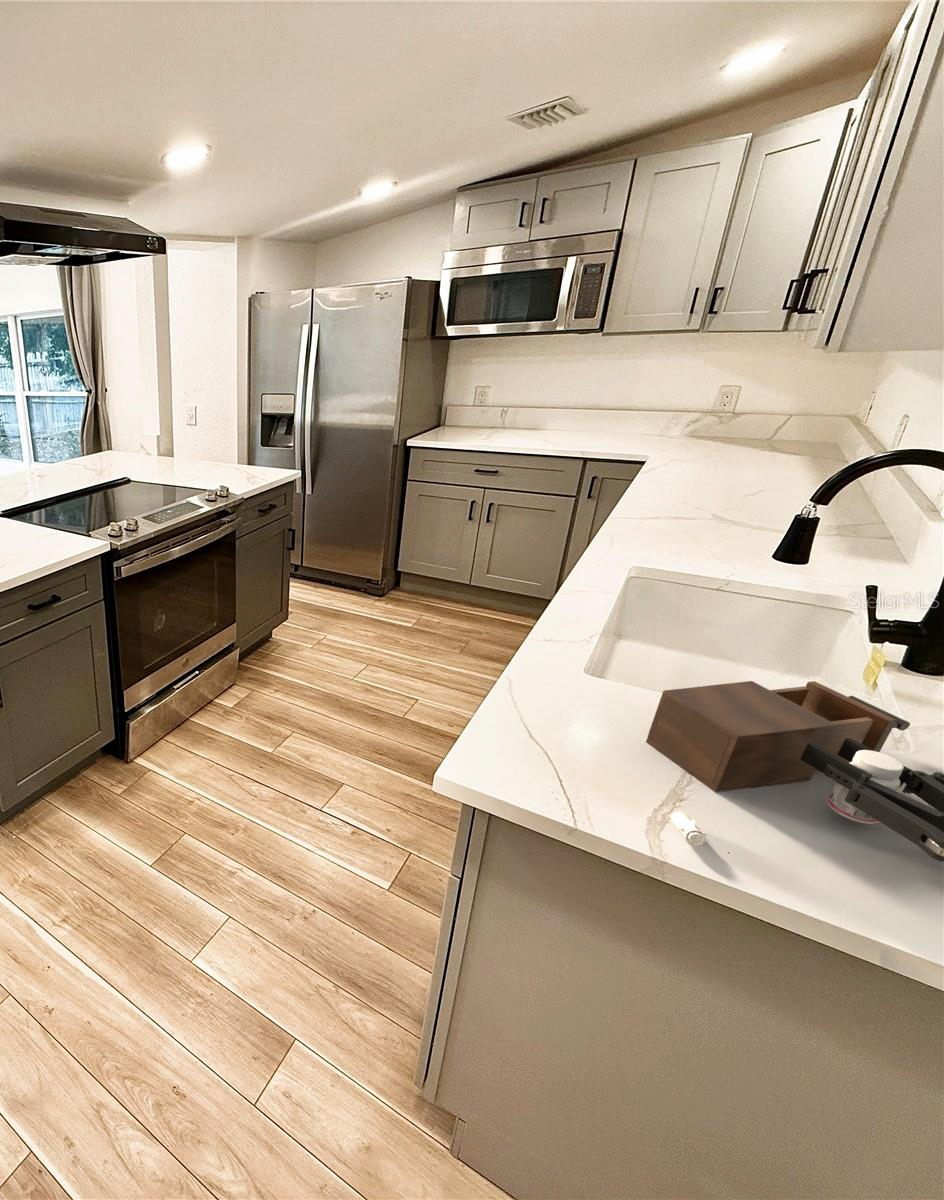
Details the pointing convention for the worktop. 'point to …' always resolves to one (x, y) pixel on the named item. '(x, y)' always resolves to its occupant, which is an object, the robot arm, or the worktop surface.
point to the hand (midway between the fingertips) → (825, 748)
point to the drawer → (845, 715)
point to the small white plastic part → (688, 828)
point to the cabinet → (737, 735)
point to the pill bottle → (882, 772)
